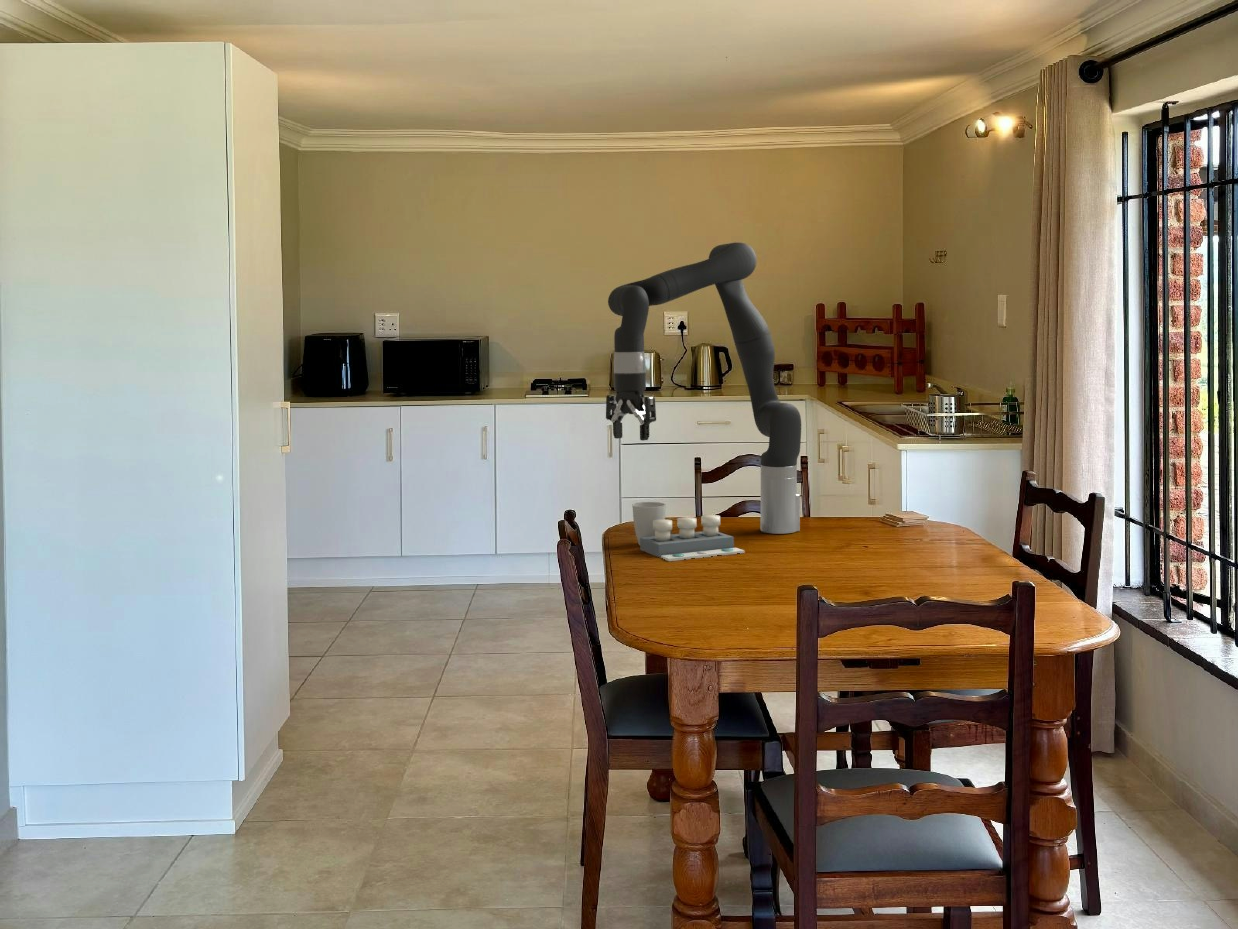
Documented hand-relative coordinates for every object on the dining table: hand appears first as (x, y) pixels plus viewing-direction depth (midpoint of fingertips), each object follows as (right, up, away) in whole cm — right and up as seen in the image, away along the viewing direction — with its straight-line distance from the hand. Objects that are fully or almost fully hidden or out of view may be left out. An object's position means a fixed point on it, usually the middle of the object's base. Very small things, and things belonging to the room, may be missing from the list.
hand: (631, 439), depth 280 cm
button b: (+13, -24, +1) cm, 27 cm away
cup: (+5, -26, +8) cm, 28 cm away
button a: (+19, -23, +4) cm, 30 cm away
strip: (+17, -27, -6) cm, 32 cm away
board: (+13, -26, +1) cm, 30 cm away
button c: (+7, -24, -2) cm, 25 cm away
